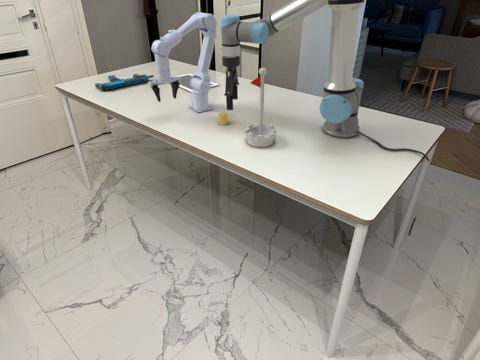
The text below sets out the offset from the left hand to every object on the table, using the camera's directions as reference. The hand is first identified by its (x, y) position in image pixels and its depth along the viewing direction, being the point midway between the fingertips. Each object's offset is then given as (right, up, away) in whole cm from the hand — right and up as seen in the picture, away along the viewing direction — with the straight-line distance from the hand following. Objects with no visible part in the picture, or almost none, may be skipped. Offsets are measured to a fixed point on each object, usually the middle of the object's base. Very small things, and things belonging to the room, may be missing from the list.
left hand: (167, 99), depth 156 cm
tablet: (+3, +23, +52) cm, 57 cm away
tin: (+26, -11, +1) cm, 28 cm away
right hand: (+30, -3, -2) cm, 30 cm away
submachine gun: (-38, +23, +52) cm, 69 cm away
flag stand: (+42, -21, -15) cm, 50 cm away
